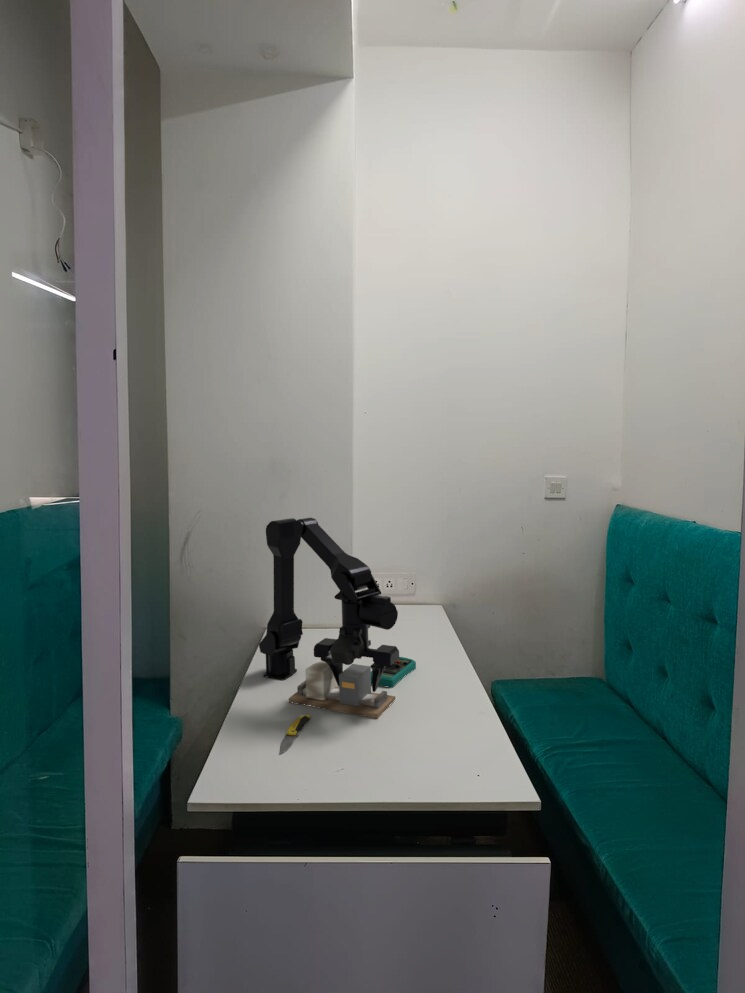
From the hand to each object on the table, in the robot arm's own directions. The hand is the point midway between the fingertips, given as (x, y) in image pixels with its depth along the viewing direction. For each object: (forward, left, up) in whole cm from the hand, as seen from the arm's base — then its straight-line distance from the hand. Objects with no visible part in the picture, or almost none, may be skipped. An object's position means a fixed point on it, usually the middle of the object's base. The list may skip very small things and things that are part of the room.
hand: (357, 688), depth 146 cm
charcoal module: (0, 0, -2) cm, 2 cm away
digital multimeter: (+1, +19, -4) cm, 19 cm away
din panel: (-4, 0, -4) cm, 5 cm away
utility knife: (-6, -18, -4) cm, 20 cm away
